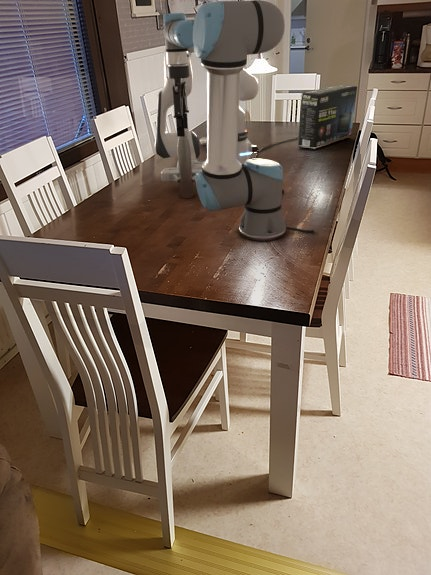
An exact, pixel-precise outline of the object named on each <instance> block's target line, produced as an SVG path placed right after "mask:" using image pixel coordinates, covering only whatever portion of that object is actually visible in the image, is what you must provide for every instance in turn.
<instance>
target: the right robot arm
mask: <svg viewBox="0 0 431 575" xmlns="http://www.w3.org/2000/svg"><path fill="white" fill-rule="evenodd" d="M162 27H163V33H164V45H166V46H165V48H166V60H167V64H168V65H169V66H168V67H167V71H168V78H170V79H174V84H173V88H172V89H173V99H174V105H173V116H172V117H173V119H175V122H176V123H175V126H176V130H177V137H185V130H184V129H189V122H188V114H189V113H190V109H189V106H188V96H187V95H186V81H184V78H188V77H189V66H188V65H187V64H188V63H189V61H188V57H190V54H188V48H191V47H194V52H195V53H194V54H195V56H196V58H198V59H200V65H201V66H202V67H203V68H204V69H205V70H206V137H207V145H206V159H205V160H203V161H204V162H203V164H202V172H198V173H197V174H196V177H195V181H196V182H195V187H196V191H197V195H198V198H199V201H200V202H201V205H202V206H203V208H204V209H205V210H207V211H221V210H226V209H231V208H237V207H244V211H243V213H242V215H241V217H240V222H239V226H238V232H239V235H240V236H241V237H242V238H244V239H247V240H250V241H254V242H271V241H277V240H279V239H281V238H283V237H285V235H286V234H287V230H288V231H294V232H300V233H305V234H314V233H315V230H314V229H303V228H302V229H301V228H297V227H290V226H287V223H286V221H285V216H284V214H283V210H282V200H283V194H282V189H283V183H284V174H283V173H284V172H283V171H284V170H283V166H282V164H280V163H279V162H277V161H275V160H271V159H266V158H259V157H258V158H257V157H256V158H252V159H248V160H245V163H244V164H242V165H241V163H240V162H239V161H238V160H237V144H238V119H239V106H240V101H239V94H240V72H241V70H242V69H243V68H244V69H245V67H246V66H247V64H248V56H250V55H260V54H264V53H267V52H270V51H271V50H273V49H274V48H276V47H277V46H278V45H279V44H280V43H281V41H282V39H283V37H284V34H285V31H286V21H285V16H284V15H283V12H282V11H281V9H280V8H279V7H278V6H277V5H275V4H274V3H271V2H270V1H267V0H216V1H210V2H205V3H203V4H201V5H200V6H199V7H198V9H197V11H196V13H195V17H194V19H187V16H186V14H185V12H171V13H170V12H169V13H164V15H163V25H162ZM188 109H189V110H188Z"/></svg>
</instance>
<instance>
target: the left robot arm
mask: <svg viewBox="0 0 431 575" xmlns="http://www.w3.org/2000/svg"><path fill="white" fill-rule="evenodd" d="M164 45H165V44H164ZM188 54H190V57H188V61H189V63H188V64H187V65H188V66H189V77H188V78H184V81H186V95H187V97H188V96H189V95H190V94H191V93H192V91H193V88H194V78H193V76H194V75H193V67H192V63H191V62H192V61H191V59H192V58H191V57H192V54H195V52H194V47H191V48H188ZM162 58H163V65H162V67H163V75H164V76H163V79H164V83H163V87H162V89H161V90H160V91H159V92H158V94H157V102H156V122H155V126H156V127H155V139H154V150H155V154H157V156H158V157H161V158H162V159H168V158H172V157H173V158H174V157H178V153H177V145H178V144H177V143H178V139H179V137H177V132H176V131H175V132H168V131H167V113H168V111H169V109H170V108H171V107H172V106H174V99H173V89H172V88H173V84H174V79H170V78H168V71H167V67H168V66H169V65H168V64H167V60H166V45H165V48H164V51H163V57H162ZM259 84H260V83H259V80H258V78H257V77H256V76H254V75H252V74H251V73H249V72H248V71H247V70H246V69H245V67H244V68H243V69H242V70H241V72H240V94H239V102H245V101H251V100H254V99H255V98H256V97H257V95H258V93H259V89H260V85H259ZM246 124H247V122H246V112H245V111H244V110H243V108H242V107H241V106H240V105H239V119H238V144H237V160H238V161H239V162H240V163H241V165H242V166H243V165H244V163H245V160H248V159H249V158H250V156H251V154H252V153H253V152H254V153H257V154H256V156H255V158H257V156H258V153H262V152H263V151H264V150H265V149H267V148H266V147H265V146H263V147H264V148H263V147H262V148H260V149H259V148H258V145H255V144H252V143H251V141H250V140H249V139H248V134H249V129H247V127H246ZM187 136H188V140H189V143H190V148H191V164H192V182H193V183H196V181H195V177H196V174H197V173H198V172H202V164H203V162H204V161H205V160H198V158H199V157H200V154H201V149H200V148H201V144H200V139H199V137H198V135H197V134H196V133H195V132H194V130H193V131H192V130H189V135H187ZM257 150H259V151H257ZM160 177H161V178H160V179H161V181H162V182H164V183H165V182H175V184H178V183H180V178H179V166H178V162H177V164H176V167H166V168H163V169H162V171H161V172H160Z"/></svg>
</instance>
